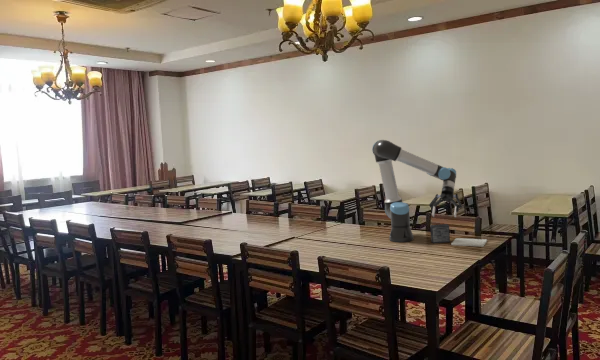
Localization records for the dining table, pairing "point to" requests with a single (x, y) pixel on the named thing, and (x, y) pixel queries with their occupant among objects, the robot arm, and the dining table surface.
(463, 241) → the mat
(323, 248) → the dining table surface
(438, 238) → the small box
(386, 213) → the robot arm
